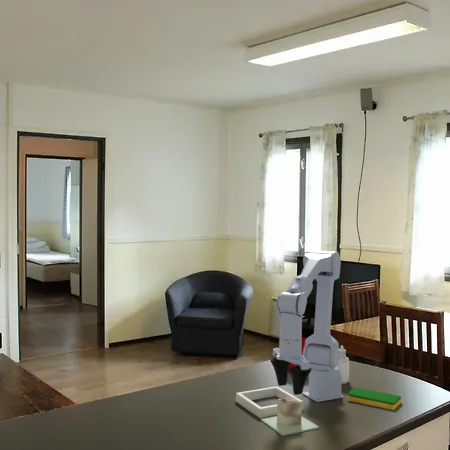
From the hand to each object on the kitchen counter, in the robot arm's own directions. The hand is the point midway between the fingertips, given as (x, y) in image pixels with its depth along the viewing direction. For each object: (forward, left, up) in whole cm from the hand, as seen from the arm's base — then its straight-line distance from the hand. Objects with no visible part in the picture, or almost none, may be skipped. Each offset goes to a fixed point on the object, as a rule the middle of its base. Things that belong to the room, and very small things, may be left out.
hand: (289, 389), depth 150 cm
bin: (-2, -14, -9) cm, 17 cm away
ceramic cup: (-29, -37, -10) cm, 48 cm away
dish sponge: (-32, -4, -10) cm, 34 cm away
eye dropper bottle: (-34, -22, -10) cm, 42 cm away
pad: (0, 0, -9) cm, 9 cm away
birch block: (0, 0, -9) cm, 9 cm away
